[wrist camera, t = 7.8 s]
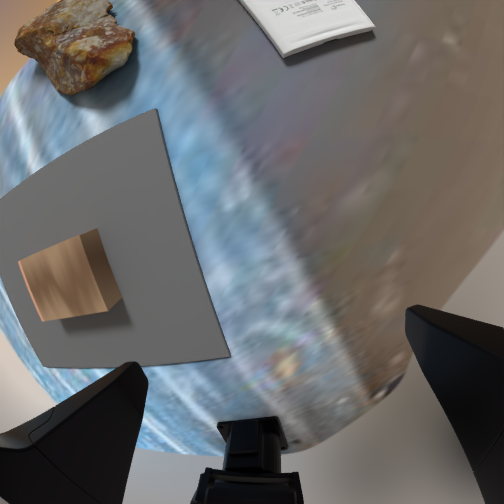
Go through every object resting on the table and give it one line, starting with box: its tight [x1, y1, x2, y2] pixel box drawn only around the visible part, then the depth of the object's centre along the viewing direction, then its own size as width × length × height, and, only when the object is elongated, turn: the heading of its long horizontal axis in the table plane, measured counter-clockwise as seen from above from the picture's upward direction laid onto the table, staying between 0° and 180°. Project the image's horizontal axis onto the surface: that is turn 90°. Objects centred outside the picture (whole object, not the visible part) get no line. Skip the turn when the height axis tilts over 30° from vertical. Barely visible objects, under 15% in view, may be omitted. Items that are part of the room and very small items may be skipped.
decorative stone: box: [15, 0, 135, 95], centre depth 13 cm, size 10×4×15 cm
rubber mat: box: [0, 108, 230, 368], centre depth 21 cm, size 20×25×1 cm
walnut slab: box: [18, 228, 122, 322], centre depth 19 cm, size 6×2×9 cm
